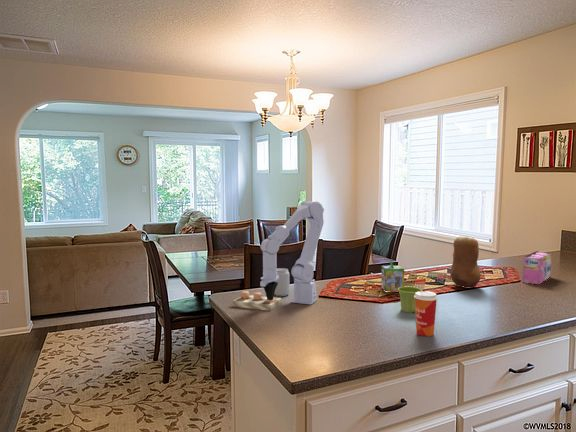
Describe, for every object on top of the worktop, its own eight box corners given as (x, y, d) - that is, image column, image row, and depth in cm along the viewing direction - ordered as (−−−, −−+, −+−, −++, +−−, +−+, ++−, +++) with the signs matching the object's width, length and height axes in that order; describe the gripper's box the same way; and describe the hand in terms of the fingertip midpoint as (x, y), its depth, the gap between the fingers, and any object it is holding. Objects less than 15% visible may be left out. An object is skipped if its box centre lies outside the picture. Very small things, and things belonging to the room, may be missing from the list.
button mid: (262, 299, 181) (262, 292, 181) (259, 301, 178) (259, 294, 178) (255, 298, 182) (255, 292, 182) (252, 300, 179) (252, 294, 179)
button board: (282, 303, 182) (281, 297, 182) (271, 310, 172) (271, 304, 172) (244, 299, 189) (244, 293, 189) (232, 306, 179) (232, 300, 179)
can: (287, 297, 192) (287, 271, 191) (271, 296, 194) (271, 270, 193) (290, 292, 200) (290, 267, 199) (275, 292, 201) (275, 267, 200)
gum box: (535, 275, 233) (536, 250, 231) (551, 277, 227) (552, 252, 226) (521, 282, 216) (522, 256, 214) (539, 285, 210) (540, 258, 209)
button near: (275, 305, 179) (275, 298, 179) (272, 307, 176) (272, 300, 176) (268, 304, 180) (268, 298, 180) (264, 306, 177) (264, 300, 177)
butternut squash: (482, 286, 209) (483, 235, 207) (477, 292, 198) (479, 239, 196) (452, 282, 217) (453, 234, 215) (446, 288, 206) (448, 237, 204)
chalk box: (404, 293, 197) (405, 261, 196) (384, 293, 198) (385, 262, 196) (399, 288, 207) (400, 258, 205) (380, 288, 207) (381, 258, 206)
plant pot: (421, 308, 174) (422, 287, 173) (421, 315, 165) (421, 293, 165) (398, 306, 177) (398, 285, 176) (396, 312, 168) (396, 291, 168)
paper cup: (409, 330, 149) (410, 290, 148) (431, 329, 149) (431, 290, 148) (418, 338, 141) (419, 297, 140) (440, 337, 142) (441, 296, 140)
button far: (250, 297, 183) (250, 291, 183) (246, 299, 180) (246, 293, 180) (243, 297, 185) (243, 290, 184) (239, 299, 182) (239, 292, 181)
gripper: (268, 263, 185) (268, 294, 186) (253, 270, 172) (253, 303, 173) (283, 265, 182) (283, 295, 183) (269, 271, 169) (269, 305, 170)
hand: (270, 299), depth 178 cm, fingers closed, pressing on button near
